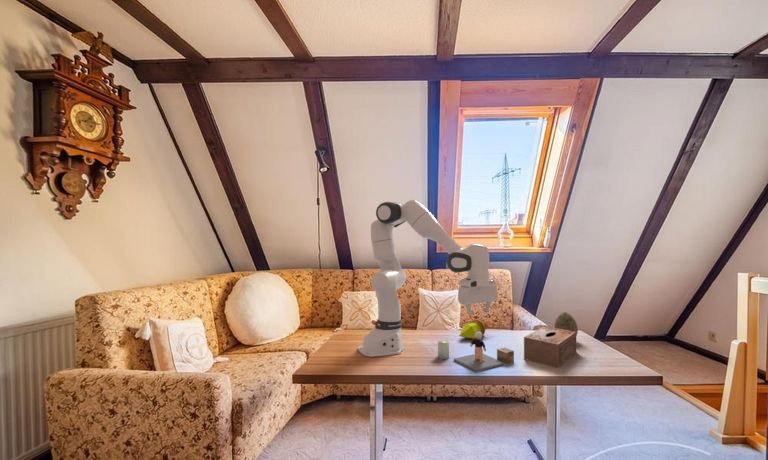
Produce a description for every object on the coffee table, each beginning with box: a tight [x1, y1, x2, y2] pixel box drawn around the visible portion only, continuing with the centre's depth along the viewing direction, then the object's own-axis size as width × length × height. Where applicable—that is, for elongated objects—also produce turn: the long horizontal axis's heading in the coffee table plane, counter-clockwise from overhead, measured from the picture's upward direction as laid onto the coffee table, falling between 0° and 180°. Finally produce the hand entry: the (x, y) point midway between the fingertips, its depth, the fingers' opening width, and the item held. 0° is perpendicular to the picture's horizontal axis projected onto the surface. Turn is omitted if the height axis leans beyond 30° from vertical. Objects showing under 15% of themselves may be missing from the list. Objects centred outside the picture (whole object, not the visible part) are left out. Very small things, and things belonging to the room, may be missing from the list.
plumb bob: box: [459, 319, 493, 340], centre depth 187 cm, size 9×9×25 cm
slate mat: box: [453, 353, 505, 373], centre depth 150 cm, size 16×14×1 cm
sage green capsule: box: [437, 339, 450, 360], centre depth 157 cm, size 5×5×7 cm
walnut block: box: [496, 347, 515, 365], centre depth 152 cm, size 5×5×5 cm
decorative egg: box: [553, 311, 579, 337], centre depth 180 cm, size 11×11×15 cm
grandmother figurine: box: [470, 331, 487, 363], centre depth 150 cm, size 8×4×13 cm, turn 55°
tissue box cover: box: [523, 325, 577, 368], centre depth 159 cm, size 26×14×10 cm, turn 136°
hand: (478, 312), depth 150 cm, fingers open, 8 cm apart
